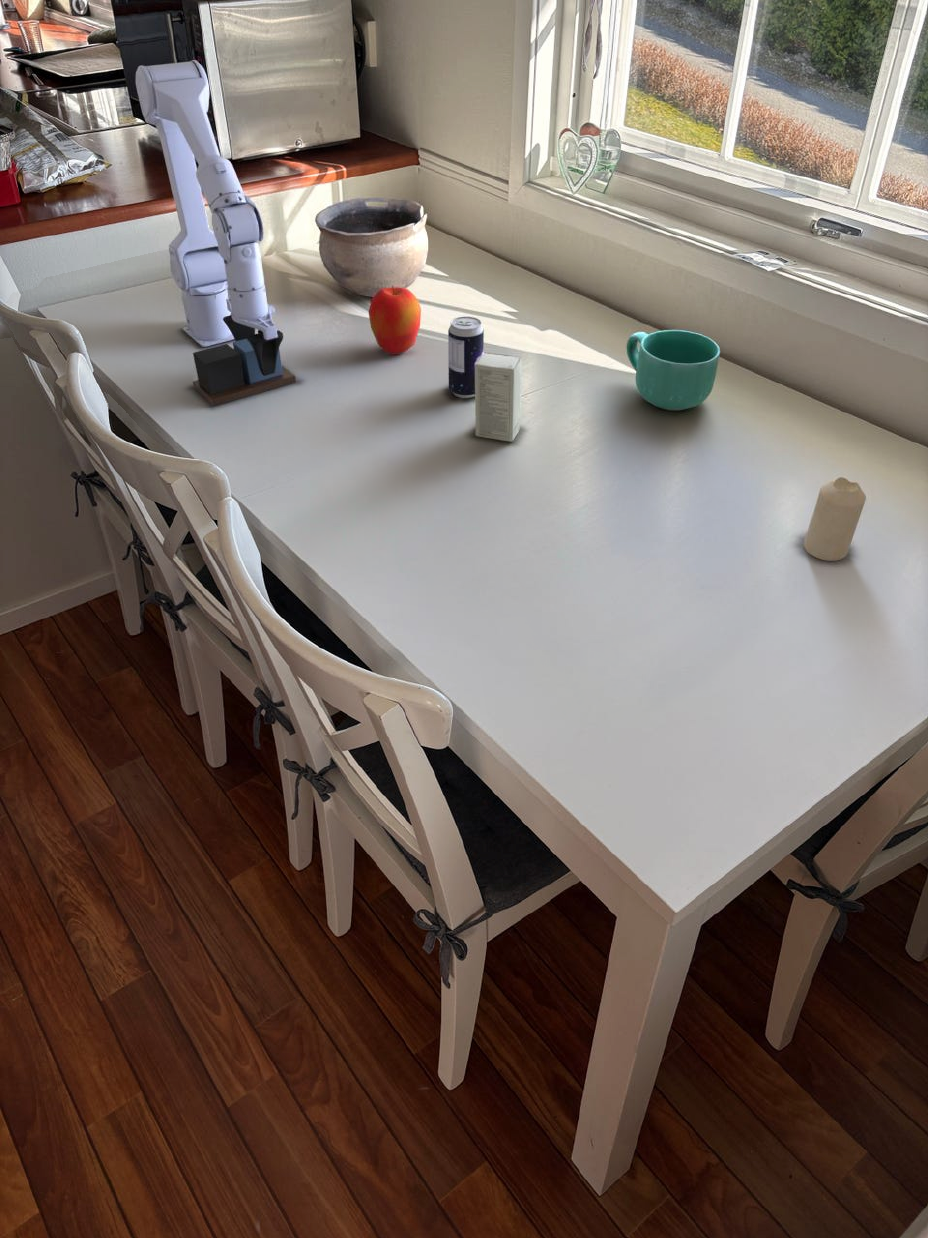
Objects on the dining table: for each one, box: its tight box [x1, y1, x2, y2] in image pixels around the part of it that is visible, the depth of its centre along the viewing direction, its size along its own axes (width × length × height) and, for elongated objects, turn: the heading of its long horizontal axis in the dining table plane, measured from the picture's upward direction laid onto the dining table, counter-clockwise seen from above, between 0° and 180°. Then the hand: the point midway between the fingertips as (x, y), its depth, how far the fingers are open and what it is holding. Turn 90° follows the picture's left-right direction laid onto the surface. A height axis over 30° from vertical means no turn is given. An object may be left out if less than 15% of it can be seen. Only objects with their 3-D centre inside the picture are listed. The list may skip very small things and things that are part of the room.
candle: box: [803, 476, 867, 562], centre depth 118 cm, size 6×6×10 cm
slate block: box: [232, 339, 283, 384], centre depth 154 cm, size 6×5×6 cm
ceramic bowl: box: [314, 197, 429, 298], centre depth 183 cm, size 22×22×15 cm
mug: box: [625, 329, 721, 412], centre depth 150 cm, size 17×13×10 cm
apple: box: [368, 286, 422, 355], centre depth 162 cm, size 9×9×12 cm
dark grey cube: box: [192, 343, 245, 395], centre depth 151 cm, size 5×6×6 cm
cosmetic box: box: [474, 351, 522, 443], centre depth 140 cm, size 6×4×12 cm
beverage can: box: [447, 316, 485, 399], centre depth 150 cm, size 6×6×12 cm
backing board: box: [192, 364, 297, 407], centre depth 155 cm, size 8×15×1 cm, turn 125°
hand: (258, 365), depth 155 cm, fingers open, 7 cm apart
